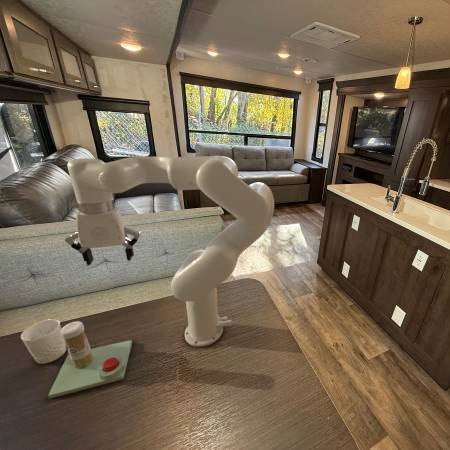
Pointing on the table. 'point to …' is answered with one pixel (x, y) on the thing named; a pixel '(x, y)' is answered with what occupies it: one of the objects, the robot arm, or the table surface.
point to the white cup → (44, 341)
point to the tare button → (110, 364)
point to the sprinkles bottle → (77, 344)
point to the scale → (92, 370)
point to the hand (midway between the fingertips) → (110, 260)
